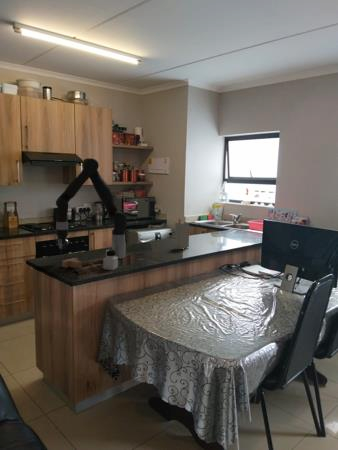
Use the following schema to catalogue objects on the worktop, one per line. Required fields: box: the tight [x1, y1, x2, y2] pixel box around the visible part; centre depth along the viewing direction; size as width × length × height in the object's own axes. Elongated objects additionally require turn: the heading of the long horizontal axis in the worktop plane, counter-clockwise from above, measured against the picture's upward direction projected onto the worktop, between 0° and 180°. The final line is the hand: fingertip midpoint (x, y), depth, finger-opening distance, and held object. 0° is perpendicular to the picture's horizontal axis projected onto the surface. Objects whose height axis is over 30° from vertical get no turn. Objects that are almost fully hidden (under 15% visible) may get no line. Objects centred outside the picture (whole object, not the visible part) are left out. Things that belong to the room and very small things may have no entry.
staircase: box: [173, 218, 190, 250], centre depth 292 cm, size 8×12×26 cm
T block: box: [61, 257, 83, 269], centre depth 231 cm, size 10×11×4 cm
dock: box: [75, 262, 103, 275], centre depth 223 cm, size 17×8×3 cm, turn 143°
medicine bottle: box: [102, 249, 119, 271], centre depth 228 cm, size 7×7×12 cm
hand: (62, 254), depth 237 cm, fingers closed
